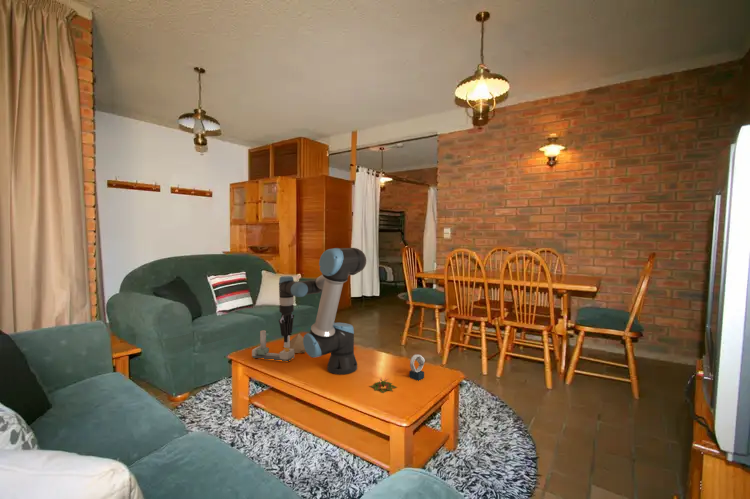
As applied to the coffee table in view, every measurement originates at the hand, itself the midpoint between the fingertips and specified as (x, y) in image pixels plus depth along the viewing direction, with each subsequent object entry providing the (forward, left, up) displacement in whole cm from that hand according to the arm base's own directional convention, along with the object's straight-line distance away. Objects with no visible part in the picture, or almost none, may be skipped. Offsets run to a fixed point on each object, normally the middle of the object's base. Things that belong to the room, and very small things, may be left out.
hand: (286, 347), depth 183 cm
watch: (-55, -47, -7) cm, 73 cm away
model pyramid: (+13, -11, -8) cm, 19 cm away
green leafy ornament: (-55, -28, -8) cm, 62 cm away
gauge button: (0, 0, -4) cm, 4 cm away
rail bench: (+6, +6, -7) cm, 11 cm away
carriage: (+10, +10, -5) cm, 16 cm away
